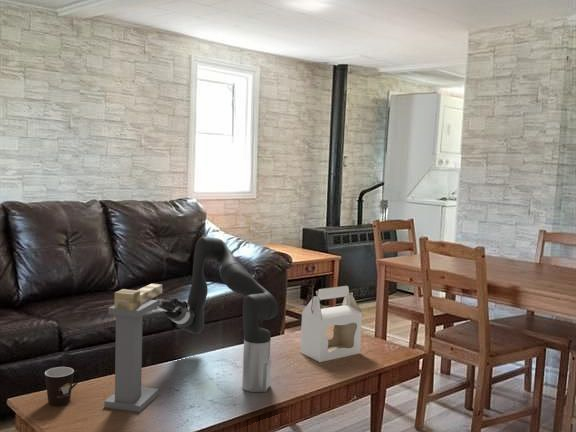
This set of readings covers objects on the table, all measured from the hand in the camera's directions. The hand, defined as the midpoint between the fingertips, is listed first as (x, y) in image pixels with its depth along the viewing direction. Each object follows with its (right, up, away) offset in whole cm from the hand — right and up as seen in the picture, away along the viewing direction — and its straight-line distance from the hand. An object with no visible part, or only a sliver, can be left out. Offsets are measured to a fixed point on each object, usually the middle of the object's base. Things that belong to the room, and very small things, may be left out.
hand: (162, 299), depth 207 cm
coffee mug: (-27, -30, -21) cm, 45 cm away
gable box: (+62, -28, +37) cm, 77 cm away
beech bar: (-3, +2, -17) cm, 17 cm away
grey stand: (-6, -30, -18) cm, 36 cm away
